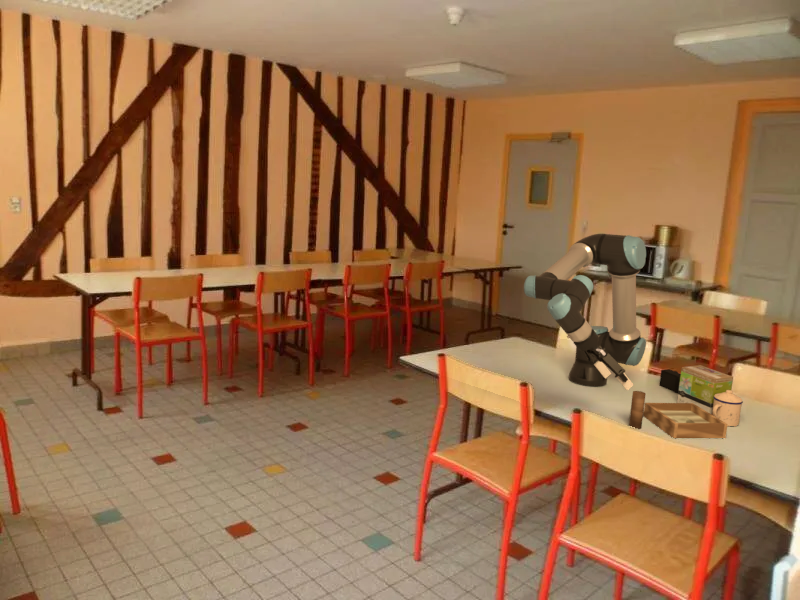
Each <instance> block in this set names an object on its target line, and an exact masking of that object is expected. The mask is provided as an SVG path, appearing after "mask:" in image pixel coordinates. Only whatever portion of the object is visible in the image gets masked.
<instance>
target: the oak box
mask: <svg viewBox="0 0 800 600" xmlns="http://www.w3.org/2000/svg"><path fill="white" fill-rule="evenodd" d="M643 418H646V420H648V421H649V422H650V423H651V424H653V425H654V424H655V426H656V427H657V428H658V427H659V430H661V431H662V430H663V431H662V432H664V433H665V434H666V433H667V434H666V435H668V436H669V435H670V436H671V438H672V437H673V438H725V439H726V438H727V437H726V436H727V432H728V426H727V425H728V424H726V423H725V422H723V421H721V420H720V419H718V418H716V417H715V416H713V415H711V414H710V413H708V412H707V411H705V410H703V409H702V408H700V407H698V406H697V405H695V404H693V403H677V402H645V403H644V411H643ZM670 436H669V437H670ZM673 438H672V439H673Z"/></svg>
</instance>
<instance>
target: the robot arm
mask: <svg viewBox="0 0 800 600" xmlns="http://www.w3.org/2000/svg"><path fill="white" fill-rule="evenodd" d="M646 258H647V248H646V244H645V242H644V240H643V239H642V238H641V237H639V236H633V235H630V234H629V235H623V234H621V235H620V234H612V233H611V234H610V233H609V234H608V233H595V234H591V235H589V236H585V237H584V238H581V239H580V240H578V241H576V242H574V243H573V244H572V245H571V246H570V247H569V249H568V252H567V253H565V254H564V255H562V257H560V258H559V259H558V260H557V261H556V262H554V263H553V264H551V266H549V267H548V268H547V269H546V270H544V271H543V272H542V273H541V274H540V275H539V276H538V275H536V274H535V275H528V276H527V277H526V278H525V281H524V283H523V292H524V295H525V296H526V297H528V298H533V299H536V300H537V299H539V300H546V301H548V303H547V304H546V308H547V311H548V313H549V314H550V316H551V318H552V319H554V321H555V322H556V323H557V324H558V326H559V327H560V328H561V329H562V330H563V331H564V333H565V334H566V337H567V339H570V340H571V341H572V342H573V344H574V346H575V347H576V348H575V358H574V363H573V366H572V368H571V369H570V371H569V375H568V376H569V377H568V380H569V381H570V382H572V383H574V384H578V385H580V386H585V387H603V386H606V385H607V382H608V377H609V376H610V375H612V373H613V374H615V375H614V378H615V379H617V380H618V382H619V383H620V384H621V385H622V386H623V388H624V389H625V390H626V391H629V390H630V389H631V388H632V387H633V386H634V383H633V382H632V380H630V378H629V377H628V375H626V373H625V372H626V369H624V368H623V367H622V365H625V366H632V367H635V366H638V365H639V364H640V363H641V361H642V359H643V358H644V357H643V356H644V354H645V351H646V346H647V340H646V338H644V337H641V330H639V329H638V328H637V275H638V274H639V273H640V272H641V269H643V267H644V266H645V265H646ZM590 265H601V266H606V267H607V268H606V271H607V273H608V274H609V275H610V276H611V297H612V299H611V300H612V301H611V302H612V328H611V329H610V330H609V328H608V327H607V326H604V325H603V326H601V325H590V324H589V322H588V321H587V320H586V318H585V317H584V316H583V315H582V313H581V311H582V309H583V308H584V306H585V304H586V303H587V301H588V299H590V297H591V294H592V292H593V290H594V283H593V281H592V280H591V278H589V277H588V276H586V275H581V274H578V275H576V276H574V275H575V274H576V273H577V272H579V271H580V270H581V269H582V268H585V267H588V266H590ZM573 276H574V277H573ZM572 277H573V278H572ZM569 279H571V280H569ZM620 364H622V365H620ZM611 372H612V373H611Z"/></svg>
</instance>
